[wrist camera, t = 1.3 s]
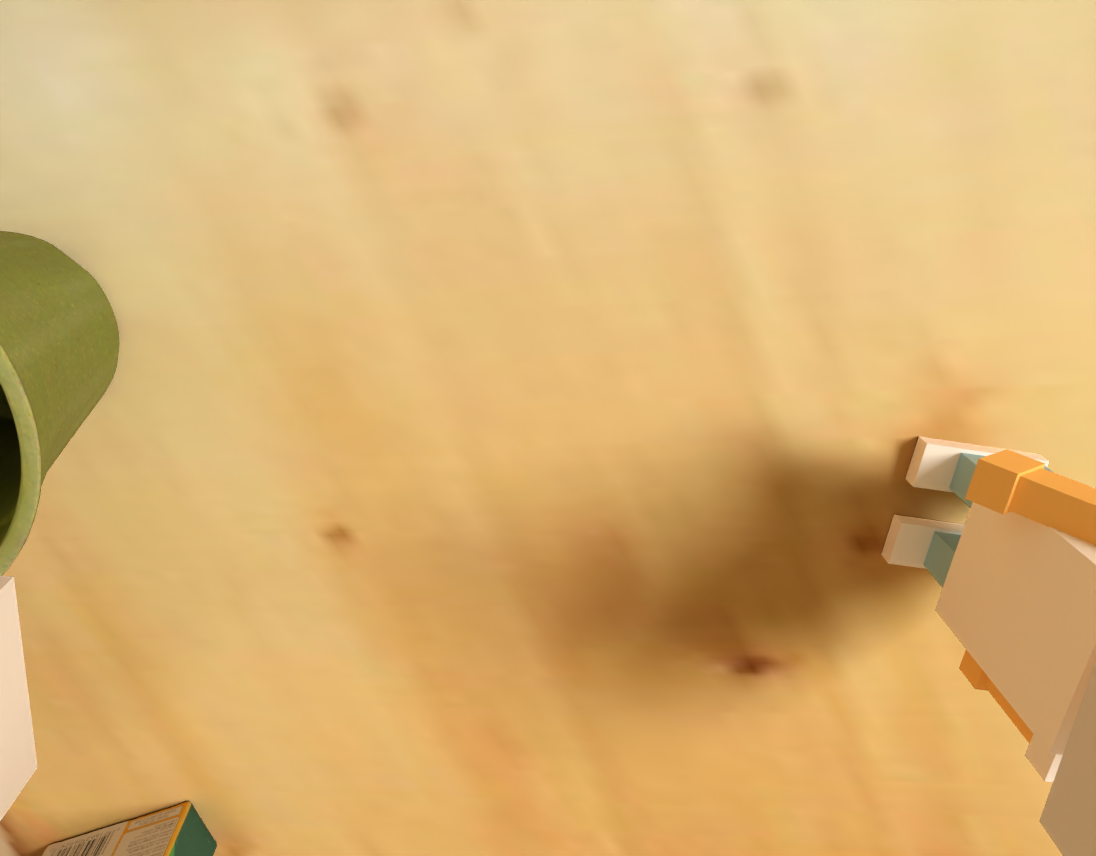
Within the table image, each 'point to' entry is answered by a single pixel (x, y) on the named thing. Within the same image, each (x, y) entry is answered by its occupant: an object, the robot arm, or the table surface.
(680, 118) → the table surface
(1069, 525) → the character figure
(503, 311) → the table surface
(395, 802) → the table surface
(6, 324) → the plant pot
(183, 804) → the crayon box
